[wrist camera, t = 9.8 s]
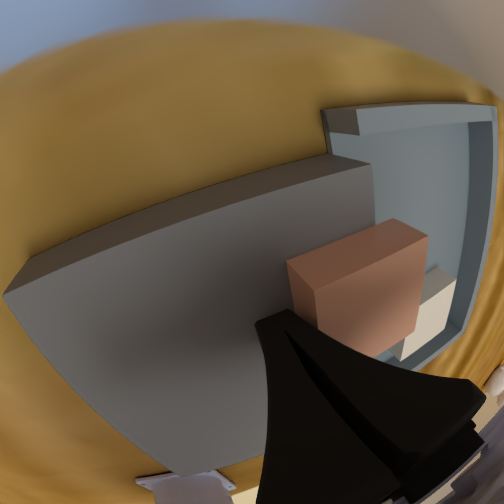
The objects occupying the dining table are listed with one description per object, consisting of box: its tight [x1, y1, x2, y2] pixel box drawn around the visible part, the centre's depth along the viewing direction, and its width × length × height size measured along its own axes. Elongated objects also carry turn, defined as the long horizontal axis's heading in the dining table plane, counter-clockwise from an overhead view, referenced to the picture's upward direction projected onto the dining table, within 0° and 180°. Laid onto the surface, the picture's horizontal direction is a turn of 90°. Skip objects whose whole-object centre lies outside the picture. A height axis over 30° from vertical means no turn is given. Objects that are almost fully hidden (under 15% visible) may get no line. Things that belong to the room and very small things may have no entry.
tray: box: [321, 101, 498, 372], centre depth 16 cm, size 20×13×2 cm, turn 13°
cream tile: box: [388, 267, 457, 361], centre depth 17 cm, size 5×5×2 cm
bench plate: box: [2, 153, 375, 478], centre depth 13 cm, size 17×14×3 cm
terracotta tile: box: [286, 218, 429, 358], centre depth 11 cm, size 5×5×2 cm
